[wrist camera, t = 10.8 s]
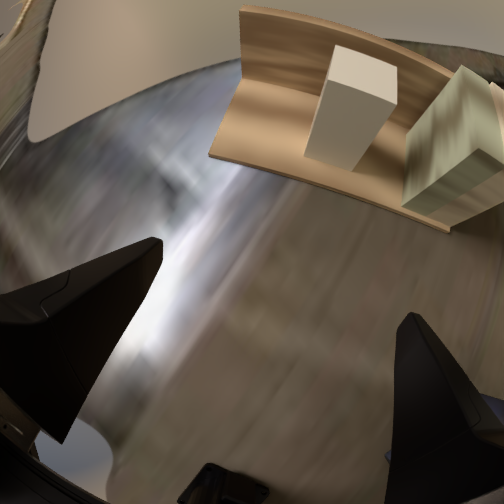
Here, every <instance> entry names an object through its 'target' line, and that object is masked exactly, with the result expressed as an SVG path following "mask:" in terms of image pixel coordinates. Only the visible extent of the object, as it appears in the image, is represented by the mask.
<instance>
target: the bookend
mask: <svg viewBox="0 0 504 504" xmlns="http://www.w3.org/2000/svg"><path fill="white" fill-rule="evenodd" d="M396 106H397V67H395V66H393V65H391V64H388V63H386V62H383V61H381V60H378V59H376V58H373V57H370V56H368V55H365V54H362V53H359V52H356V51H354V50H351V49H348V48H344V47H341V46H338V45H335V48H334V52H333V55H332V58H331V62H330V65H329V69H328V72H327V75H326V79H325V82H324V85H323V89H322V92H321V95H320V98H319V102H318V105H317V108H316V112H315V115H314V118H313V121H312V125H311V129H310V133H309V136H308V140H307V144H306V148H305V152H304V155H303V156H305V157H308V158H311V159H315V160H318V161H321V162H324V163H327V164H330V165H333V166H336V167H339V168H342V169H345V170H348V171H351V172H352V170H353V169H354V167H355V166H356V164H357V163H358V162H359V160H360V159H361V157H362V156H363V154H364V153H365V151H366V150H367V149H368V147H369V146H370V144H371V143H372V141H373V140H374V138H375V137H376V135H377V134H378V132H379V131H380V129H381V128H382V127H383V125H384V124H385V122H386V121H387V119H388V118H389V116H390V115H391V113H392V112H393V110H394V109H395V107H396Z"/></svg>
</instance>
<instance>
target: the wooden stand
mask: <svg viewBox="0 0 504 504" xmlns="http://www.w3.org/2000/svg"><path fill="white" fill-rule="evenodd" d="M239 17H240V18H239V20H240V43H241V67H242V79H241V81H240V83H239V85H238V88H237V90H236V92H235V94H234V96H233V98H232V100H231V103H230V105H229V107H228V109H227V111H226V113H225V116H224V118H223V120H222V122H221V125H220V127H219V129H218V132H217V134H216V136H215V139H214V141H213V143H212V146H211V148H210V150H209V153H208V155H209V157H212V158H217V159H221V160H225V161H229V162H233V163H237V164H241V165H245V166H249V167H253V168H257V169H261V170H264V171H268V172H272V173H275V174H279V175H282V176H286V177H289V178H293V179H296V180H300V181H303V182H306V183H309V184H313V185H316V186H319V187H322V188H326V189H329V190H332V191H335V192H338V193H341V194H344V195H347V196H350V197H353V198H356V199H359V200H362V201H364V202H367V203H370V204H373V205H376V206H378V207H381V208H384V209H387V210H389V211H392V212H395V213H397V214H400V215H402V216H405V217H408V218H410V219H413V220H415V221H418V222H420V223H423V224H425V225H427V226H430V227H432V228H435V229H437V230H439V231H442V232H444V233H449V232H450V227H452V226H454V225H456V224H458V223H460V222H463V221H465V220H467V219H469V218H471V217H473V216H475V215H477V214H479V213H482V212H484V211H486V210H488V209H490V208H492V207H494V206H496V205H498V204H500V203H502V202H504V90H502V89H501V88H500V87H498V86H497V85H496V84H494V83H493V82H491V83H490V85H489V84H488V82H487V81H486V80H484V79H483V78H481V77H480V76H478V75H477V74H475V73H474V72H472V71H471V70H469V69H468V68H466V67H464V66H463V65H461V66H460V68H459V69H458V70H457V72H456V73H453V72H451V71H449V70H448V69H446V68H444V67H442V66H440V65H438V64H437V63H435V62H433V61H431V60H429V59H427V58H425V57H423V56H421V55H419V54H417V53H415V52H412V51H410V50H408V49H406V48H404V47H401V46H399V45H397V44H394V43H392V42H390V41H387V40H385V39H382V38H380V37H377V36H374V35H372V34H369V33H366V32H363V31H360V30H357V29H354V28H351V27H348V26H345V25H341V24H338V23H335V22H331V21H328V20H324V19H320V18H316V17H312V16H308V15H304V14H299V13H294V12H289V11H284V10H278V9H272V8H266V7H259V6H251V5H243V6H242V8H241V9H240V10H239ZM335 45H338V46H341V47H344V48H348V49H351V50H354V51H356V52H359V53H362V54H365V55H368V56H370V57H373V58H376V59H378V60H381V61H383V62H386V63H388V64H391V65H393V66H395V67H397V106H396V107H395V109H394V110H393V112H392V113H391V115H390V116H389V118H388V119H387V121H386V122H385V124H384V125H383V127H382V128H381V129H380V131H379V132H378V134H377V135H376V137H375V138H374V140H373V141H372V143H371V144H370V146H369V147H368V149H367V150H366V151H365V153H364V154H363V156H362V157H361V159H360V160H359V162H358V163H357V164H356V166H355V167H354V169H353V170H352V172H351V171H348V170H345V169H342V168H339V167H336V166H333V165H330V164H327V163H324V162H321V161H318V160H315V159H311V158H308V157H305V156H303V155H304V152H305V148H306V144H307V140H308V136H309V133H310V129H311V125H312V121H313V118H314V115H315V112H316V108H317V105H318V102H319V98H320V95H321V92H322V89H323V85H324V82H325V79H326V75H327V72H328V69H329V65H330V62H331V58H332V55H333V52H334V48H335Z"/></svg>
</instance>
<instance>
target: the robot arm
mask: <svg viewBox="0 0 504 504" xmlns="http://www.w3.org/2000/svg"><path fill="white" fill-rule="evenodd" d="M162 261H163V241H162V240H161V239H159V238H155V237H149V238H147V239H144V240H141V241H139V242H136V243H134V244H131V245H128V246H126V247H123V248H121V249H118V250H116V251H113V252H111V253H108V254H106V255H103V256H101V257H98V258H96V259H93V260H91V261H89V262H86V263H84V264H81V265H79V266H77V267H74V268H72V269H71V270H67V271H65V272H62V273H60V274H58V275H55V276H53V277H50V278H48V279H45V280H42V281H40V282H37V283H34V284H31V285H28V286H26V287H23V288H20V289H17V290H14V291H12V292H9V293H6V294H1V295H0V504H110V503H108V502H106V501H104V500H102V499H100V498H98V497H96V496H94V495H93V494H91V493H89V492H87V491H85V490H84V489H82V488H80V487H78V486H77V485H75V484H73V483H72V482H70V481H68V480H67V479H65V478H64V477H62V476H61V475H59V474H57V473H56V472H55V471H53V470H52V469H50V468H49V467H47V466H46V465H45V464H43V463H41V462H40V460H39V456H38V453H37V450H36V446H35V442H34V441H35V439H36V437H37V435H38V433H39V432H40V430H41V431H42V432H44V433H45V434H46V435H48V436H49V437H51V438H52V439H54V440H55V441H57V442H58V443H60V444H63V442H64V440H65V438H66V436H67V434H68V432H69V430H70V428H71V426H72V424H73V422H74V421H75V419H76V417H77V415H78V413H79V411H80V409H81V407H82V405H83V403H84V401H85V400H86V398H87V395H88V394H89V392H90V390H91V388H92V386H93V385H94V383H95V381H96V379H97V377H98V376H99V374H100V372H101V370H102V369H103V367H104V365H105V363H106V362H107V360H108V358H109V356H110V355H111V353H112V351H113V350H114V348H115V346H116V345H117V343H118V341H119V340H120V338H121V336H122V335H123V333H124V331H125V330H126V328H127V326H128V325H129V323H130V321H131V320H132V318H133V317H134V315H135V313H136V312H137V310H138V309H139V307H140V305H141V304H142V302H143V300H144V299H145V297H146V295H147V293H148V291H149V289H150V287H151V285H152V283H153V281H154V278H155V276H156V274H157V272H158V270H159V268H160V266H161V264H162ZM469 380H470V379H469V378H468V376H467V375H466V374H465V372H464V371H463V369H462V368H461V367H460V365H459V364H458V363H457V361H456V360H455V358H454V357H453V356H452V354H451V353H450V352H449V351H448V349H447V348H446V347H445V345H444V344H443V343H442V341H441V340H440V339H439V338H438V336H437V335H436V334H435V332H434V331H433V330H432V329H431V327H430V326H429V325H428V324H427V322H426V321H425V320H424V319H423V318H422V316H421V315H420V314H417V313H413V312H410V313H408V314H407V316H406V317H405V319H404V320H403V321H402V323H401V324H400V325H399V327H398V329H397V333H396V350H395V364H394V416H393V435H392V448H391V458H390V467H389V472H390V473H389V475H388V482H387V489H386V496H385V502H384V504H504V425H503V424H502V423H501V421H500V420H499V419H498V417H497V416H496V415H495V413H494V412H493V411H492V409H491V408H490V407H489V405H488V404H487V403H486V401H485V400H484V399H483V397H482V396H481V395H480V393H479V392H478V390H477V389H476V388H475V386H474V385H473V383H472V382H471V381H469ZM207 467H210V468H212V469H208V468H207ZM263 491H265V493H262V492H263ZM269 494H270V491H269V489H268V488H266V487H264V486H261V485H259V484H256V483H255V482H254V481H251V480H249V479H247V478H244V477H242V476H240V475H237V474H235V473H233V472H228V471H226V470H224V469H222V468H220V467H218V466H216V465H214V464H212V463H206V464H205V465H204V466H203V468H202V469H201V470H200V471H199V473H198V474H197V475H196V477H195V478H194V479H193V480H192V482H191V483H190V484H189V485H188V487H187V488H186V489H185V490H184V492H183V493H182V494H181V495H180V496H179V498H178V500H177V503H178V504H261V503H262V502H263V501H264V500H265V499H266V498H267V497H268V495H269ZM182 501H184V502H182Z"/></svg>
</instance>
